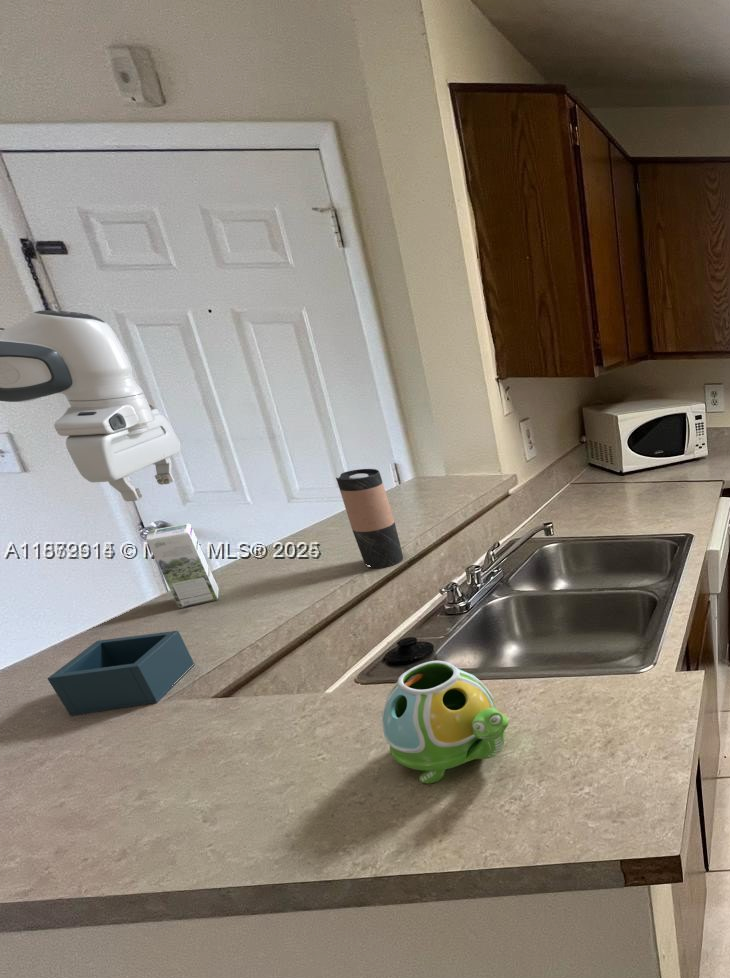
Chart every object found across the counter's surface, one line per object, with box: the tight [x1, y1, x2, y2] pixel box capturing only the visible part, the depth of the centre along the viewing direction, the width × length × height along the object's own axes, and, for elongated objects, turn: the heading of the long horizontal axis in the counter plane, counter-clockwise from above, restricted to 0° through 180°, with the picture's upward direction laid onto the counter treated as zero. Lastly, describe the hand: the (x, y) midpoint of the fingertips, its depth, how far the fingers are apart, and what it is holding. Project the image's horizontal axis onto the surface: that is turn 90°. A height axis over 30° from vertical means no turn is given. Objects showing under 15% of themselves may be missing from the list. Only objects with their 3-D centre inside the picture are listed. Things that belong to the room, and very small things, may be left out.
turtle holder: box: [381, 660, 509, 784], centre depth 78 cm, size 12×18×12 cm
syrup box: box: [145, 523, 220, 609], centre depth 115 cm, size 6×6×14 cm
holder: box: [46, 630, 195, 716], centre depth 91 cm, size 10×10×6 cm
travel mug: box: [335, 468, 404, 570], centre depth 129 cm, size 8×8×20 cm
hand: (151, 491), depth 109 cm, fingers open, 8 cm apart
